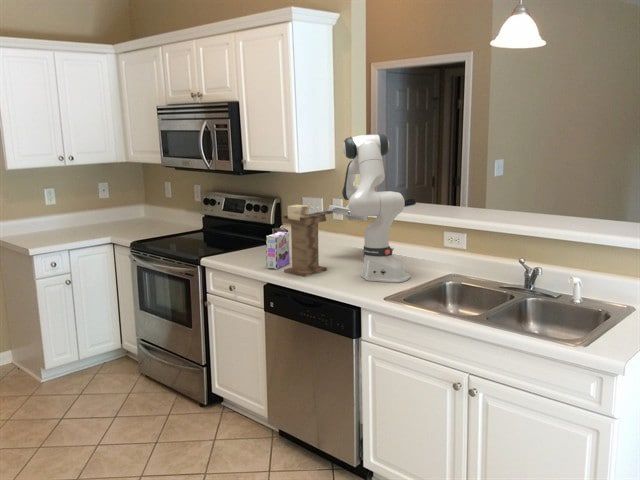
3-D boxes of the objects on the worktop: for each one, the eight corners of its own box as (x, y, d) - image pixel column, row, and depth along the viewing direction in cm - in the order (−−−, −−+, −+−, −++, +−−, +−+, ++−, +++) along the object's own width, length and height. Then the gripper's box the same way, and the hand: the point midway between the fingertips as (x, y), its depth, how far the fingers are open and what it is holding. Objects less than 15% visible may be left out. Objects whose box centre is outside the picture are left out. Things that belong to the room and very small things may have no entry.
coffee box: (289, 260, 307) (288, 229, 304) (277, 261, 305) (276, 230, 302) (284, 256, 316) (283, 227, 313) (272, 258, 313) (271, 228, 310)
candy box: (276, 269, 287) (275, 236, 284) (266, 268, 289) (265, 235, 286) (290, 263, 299) (289, 231, 296) (279, 262, 302) (278, 231, 299)
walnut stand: (307, 266, 293) (306, 211, 288) (326, 270, 285) (325, 213, 279) (284, 272, 282) (282, 215, 276) (303, 276, 273) (302, 217, 268)
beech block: (325, 212, 295) (324, 200, 293) (337, 213, 289) (337, 201, 288) (287, 218, 276) (287, 206, 275) (300, 220, 270) (299, 207, 269)
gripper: (336, 202, 313) (324, 201, 301) (371, 209, 304) (360, 208, 291) (334, 214, 314) (322, 214, 302) (369, 221, 304) (357, 221, 292)
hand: (341, 211), depth 296 cm, fingers open, 8 cm apart
